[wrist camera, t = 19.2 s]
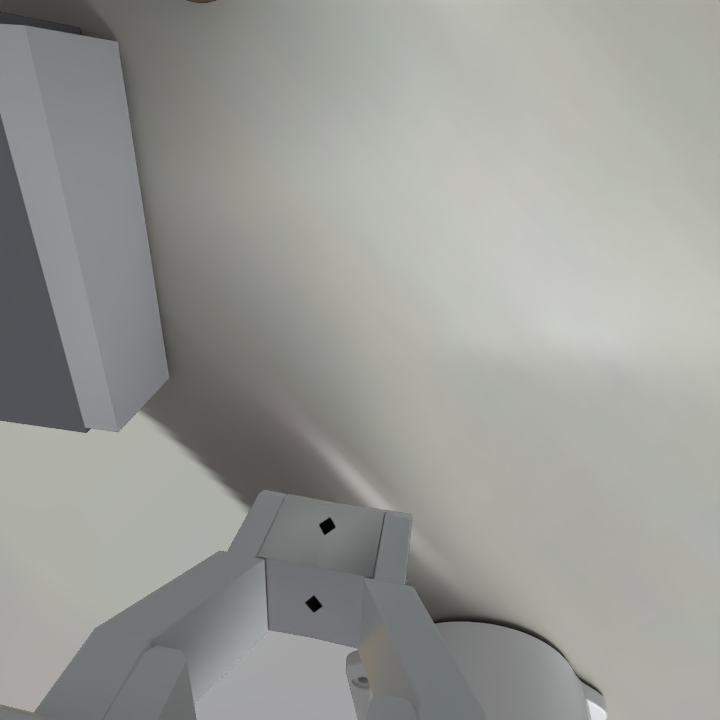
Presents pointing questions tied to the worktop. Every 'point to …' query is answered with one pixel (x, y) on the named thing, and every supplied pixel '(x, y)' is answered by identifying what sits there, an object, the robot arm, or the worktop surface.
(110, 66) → the tray
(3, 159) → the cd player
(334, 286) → the worktop surface
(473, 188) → the worktop surface
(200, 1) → the disc stand
